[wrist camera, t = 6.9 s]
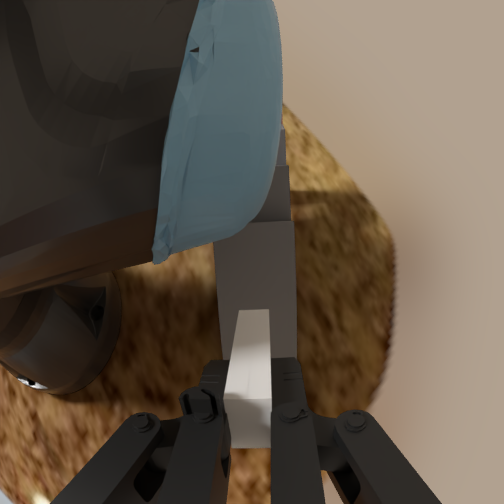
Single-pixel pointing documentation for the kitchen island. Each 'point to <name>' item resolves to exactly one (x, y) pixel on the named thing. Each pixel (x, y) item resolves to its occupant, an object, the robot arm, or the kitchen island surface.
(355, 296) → the kitchen island surface
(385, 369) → the kitchen island surface
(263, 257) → the domino
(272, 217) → the domino
